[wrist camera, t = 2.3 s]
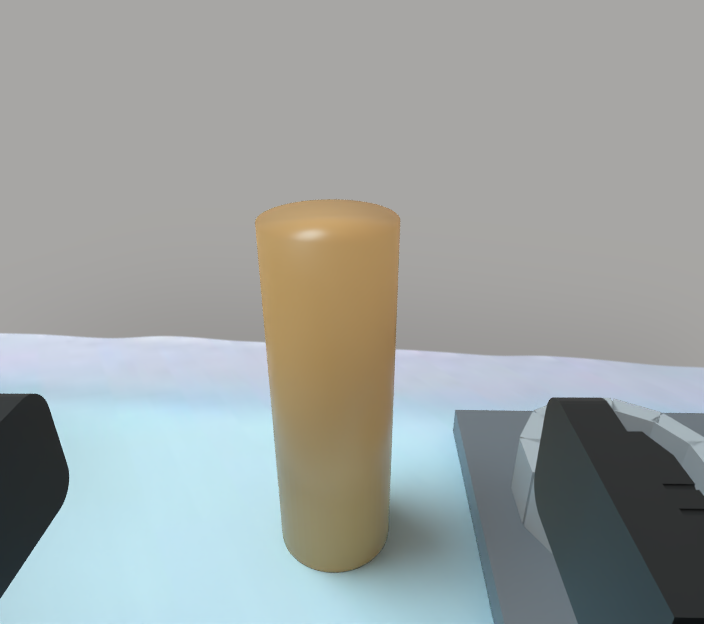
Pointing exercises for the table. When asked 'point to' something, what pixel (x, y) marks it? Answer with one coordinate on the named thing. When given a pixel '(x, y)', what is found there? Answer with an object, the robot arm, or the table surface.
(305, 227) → the cylinder
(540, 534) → the housing
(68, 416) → the table surface
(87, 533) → the table surface
